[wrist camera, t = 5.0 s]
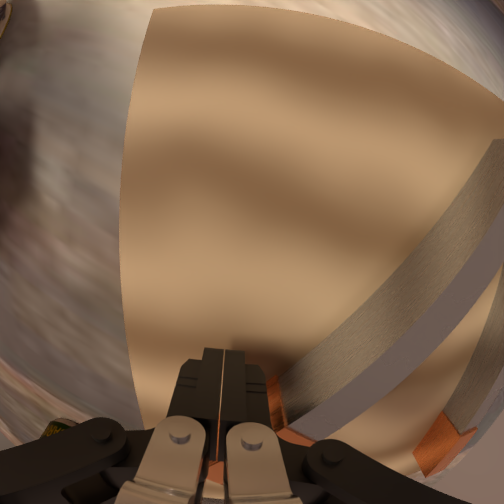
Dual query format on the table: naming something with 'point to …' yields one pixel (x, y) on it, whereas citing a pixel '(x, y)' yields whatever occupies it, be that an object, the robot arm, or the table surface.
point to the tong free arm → (396, 318)
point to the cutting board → (289, 199)
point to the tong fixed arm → (468, 395)
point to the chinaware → (4, 15)
